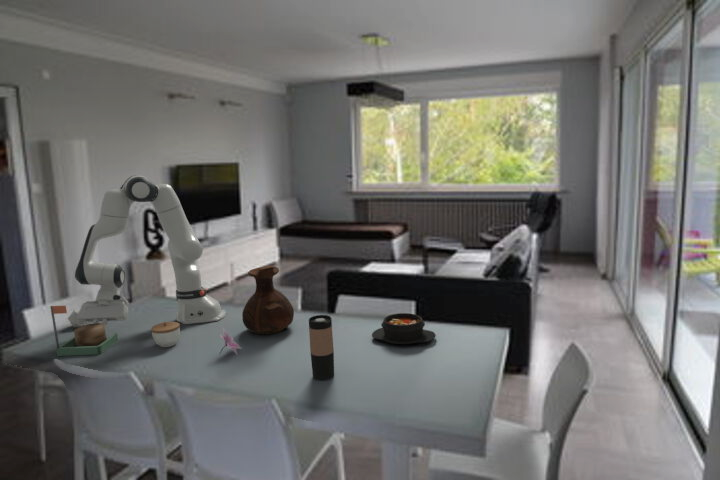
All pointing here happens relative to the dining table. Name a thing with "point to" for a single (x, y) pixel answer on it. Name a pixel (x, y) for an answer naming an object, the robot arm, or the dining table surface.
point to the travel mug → (321, 347)
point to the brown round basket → (90, 335)
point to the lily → (229, 342)
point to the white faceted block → (76, 319)
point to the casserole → (403, 329)
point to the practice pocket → (69, 345)
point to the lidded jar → (166, 333)
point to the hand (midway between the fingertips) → (98, 329)
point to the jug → (267, 304)
